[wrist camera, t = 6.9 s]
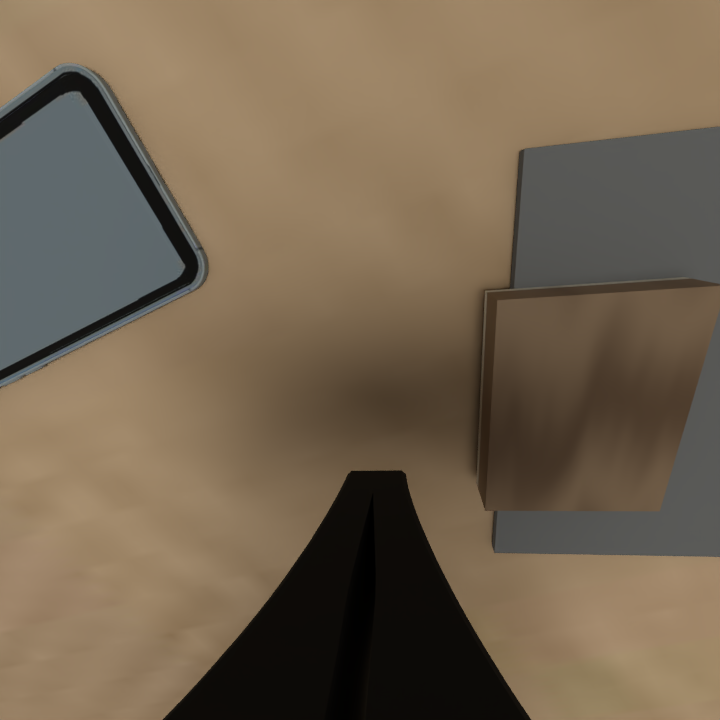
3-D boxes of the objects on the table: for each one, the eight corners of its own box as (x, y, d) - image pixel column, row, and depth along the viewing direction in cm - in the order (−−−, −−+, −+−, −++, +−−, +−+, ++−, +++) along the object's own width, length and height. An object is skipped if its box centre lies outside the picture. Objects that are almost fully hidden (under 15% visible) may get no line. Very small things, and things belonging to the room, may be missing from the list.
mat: (784, 549, 15) (795, 558, 14) (492, 545, 16) (494, 552, 16) (1008, 95, 9) (1036, 90, 9) (519, 151, 10) (524, 148, 10)
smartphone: (216, 280, 12) (-59, 417, 16) (227, 276, 13) (-35, 406, 16) (79, 44, 10) (-211, 261, 13) (104, 59, 11) (-174, 259, 14)
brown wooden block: (476, 482, 14) (633, 481, 14) (485, 510, 13) (659, 511, 12) (484, 290, 12) (683, 276, 11) (497, 300, 10) (726, 285, 9)
